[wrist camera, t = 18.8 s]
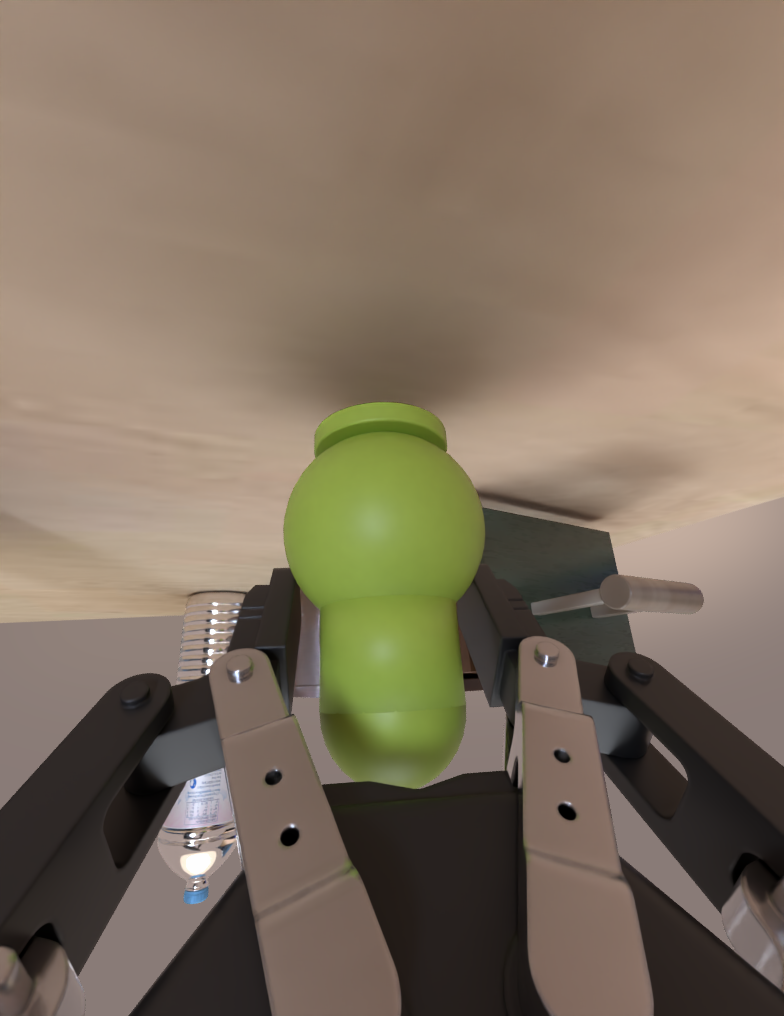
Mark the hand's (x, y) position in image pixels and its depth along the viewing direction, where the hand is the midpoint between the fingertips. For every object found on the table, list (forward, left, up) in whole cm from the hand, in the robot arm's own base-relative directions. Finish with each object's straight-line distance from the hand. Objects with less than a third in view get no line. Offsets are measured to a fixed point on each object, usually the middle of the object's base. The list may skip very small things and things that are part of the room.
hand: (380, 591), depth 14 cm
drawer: (+14, +5, -5) cm, 16 cm away
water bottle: (+30, -22, -6) cm, 37 cm away
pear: (-2, 0, -4) cm, 5 cm away
